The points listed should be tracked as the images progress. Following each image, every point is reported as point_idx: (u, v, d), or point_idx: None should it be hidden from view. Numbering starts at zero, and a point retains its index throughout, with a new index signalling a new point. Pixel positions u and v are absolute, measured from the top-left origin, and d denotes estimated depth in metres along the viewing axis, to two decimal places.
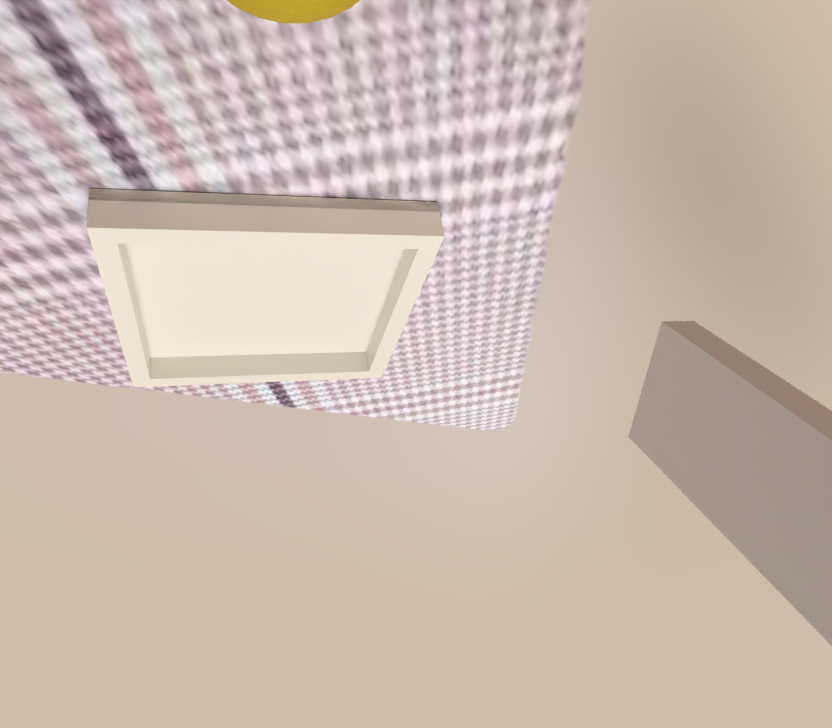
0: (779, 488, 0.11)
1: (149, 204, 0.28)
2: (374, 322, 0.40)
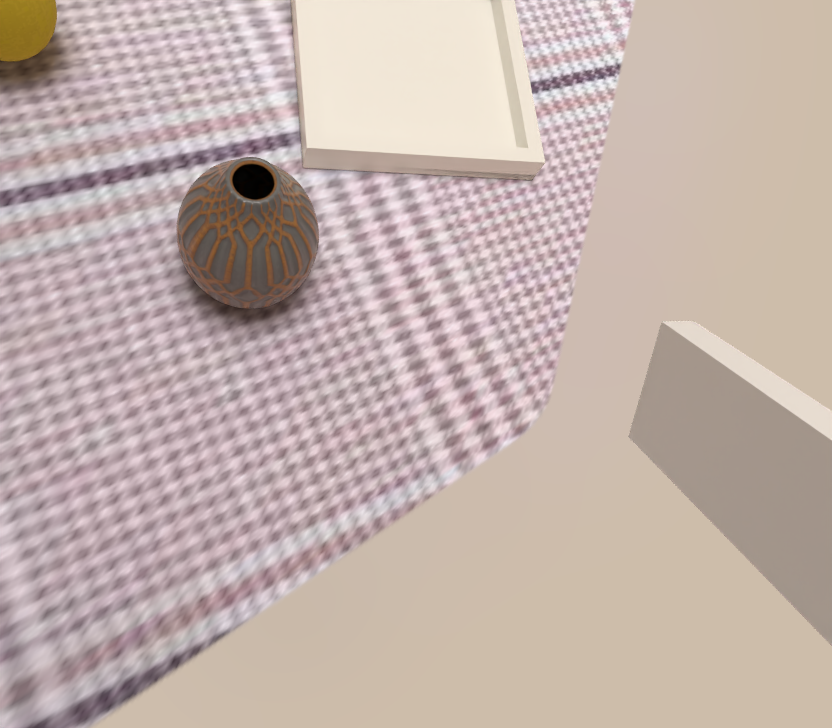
0: (779, 488, 0.11)
1: (301, 126, 0.40)
2: None
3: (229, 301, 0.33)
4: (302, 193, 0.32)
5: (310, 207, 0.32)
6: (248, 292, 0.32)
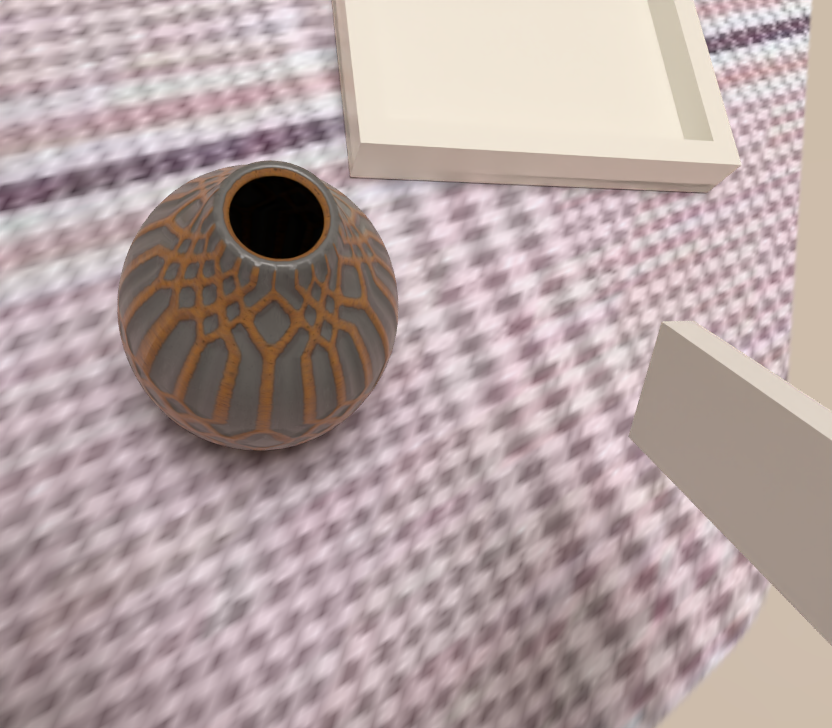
0: (779, 488, 0.11)
1: (347, 107, 0.23)
2: None
3: (225, 445, 0.17)
4: (373, 234, 0.16)
5: (388, 261, 0.16)
6: (263, 437, 0.16)
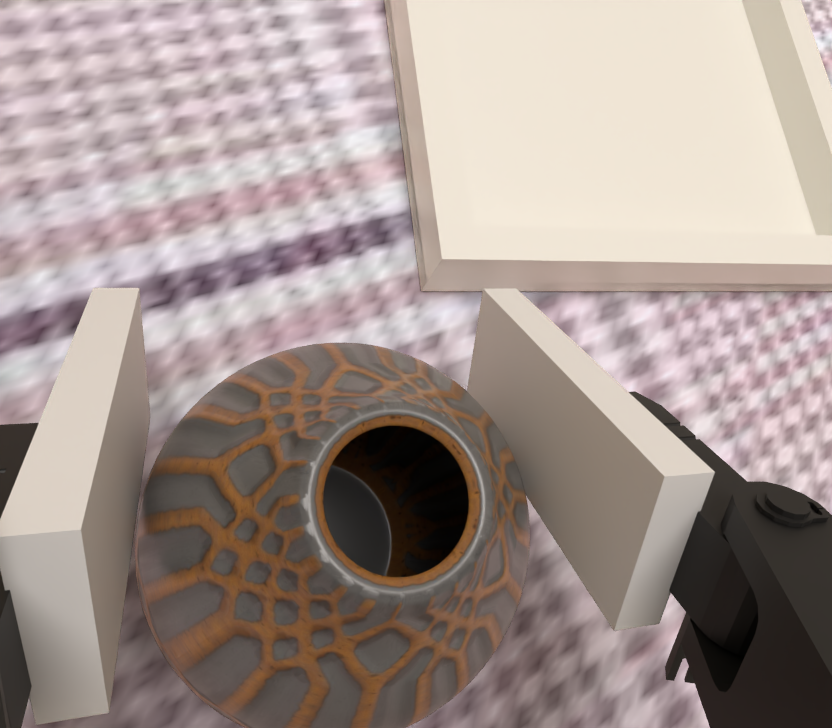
0: (551, 438, 0.11)
1: (418, 204, 0.19)
2: None
3: None
4: (505, 451, 0.11)
5: (522, 484, 0.11)
6: None
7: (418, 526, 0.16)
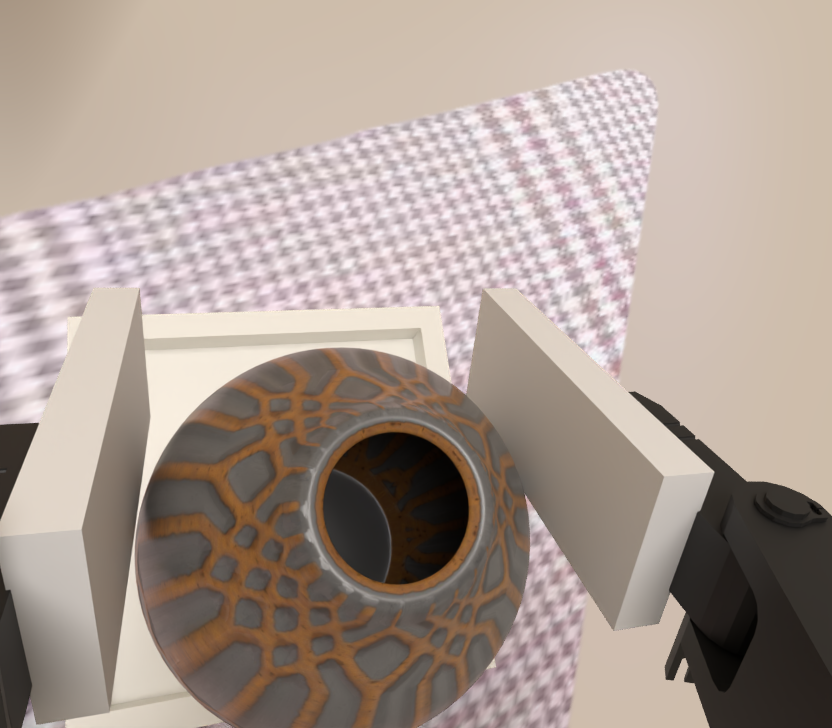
0: (551, 438, 0.11)
1: None
2: (331, 345, 0.30)
3: None
4: (505, 456, 0.11)
5: (522, 489, 0.11)
6: None
7: (418, 530, 0.16)
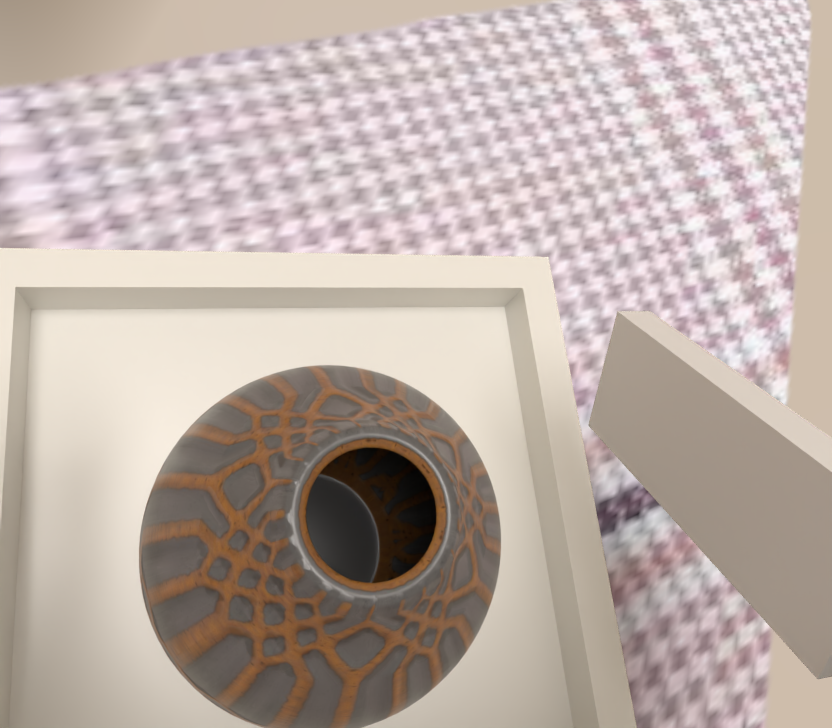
0: (721, 471, 0.11)
1: None
2: (385, 312, 0.20)
3: None
4: (477, 466, 0.12)
5: (493, 495, 0.12)
6: None
7: (405, 532, 0.17)
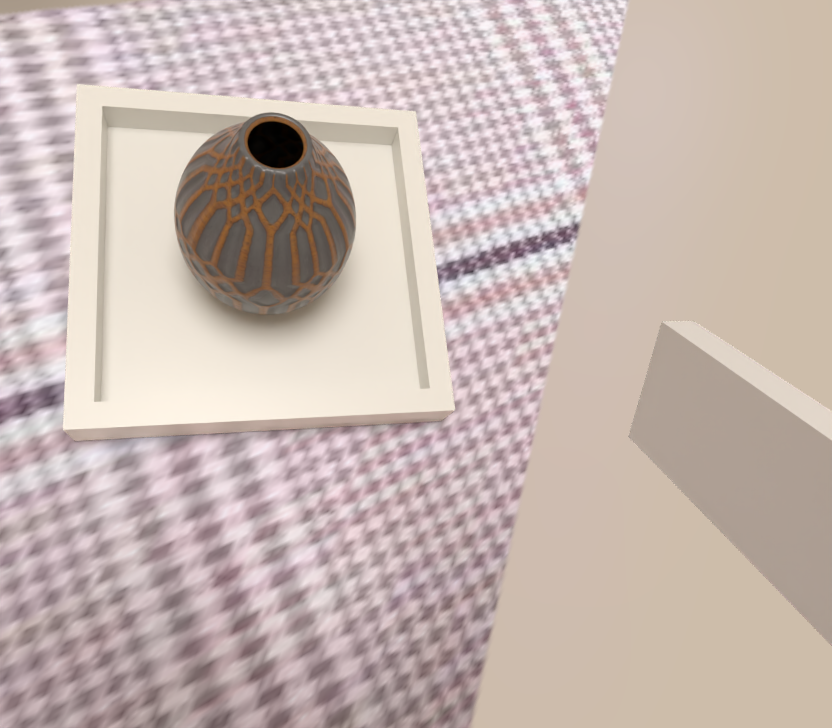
0: (779, 488, 0.11)
1: None
2: None
3: (242, 305, 0.26)
4: (337, 164, 0.25)
5: (347, 183, 0.25)
6: (266, 294, 0.25)
7: None
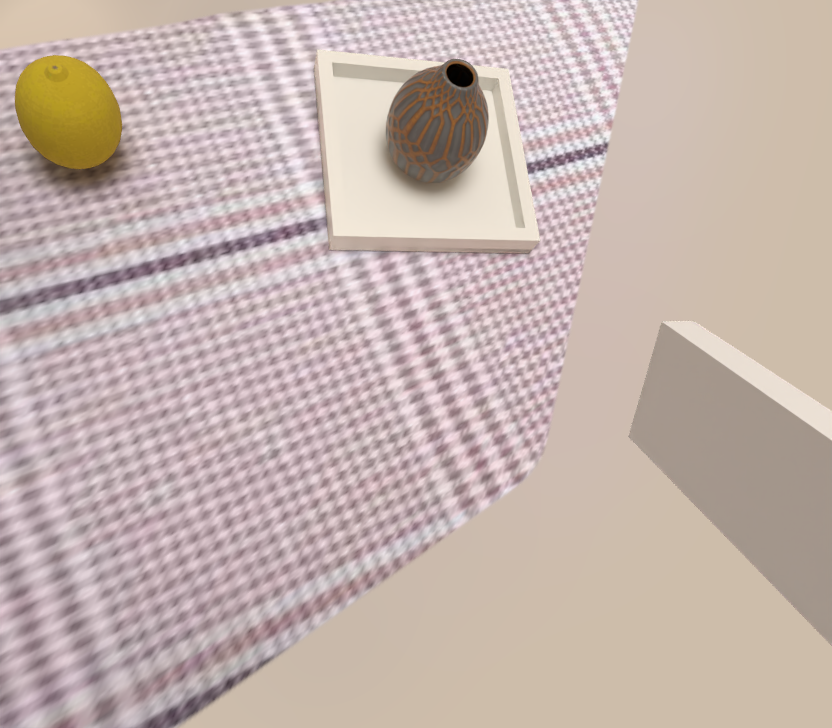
0: (779, 488, 0.11)
1: (328, 214, 0.46)
2: None
3: (424, 172, 0.46)
4: None
5: None
6: (442, 162, 0.45)
7: None
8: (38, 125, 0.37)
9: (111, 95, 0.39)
